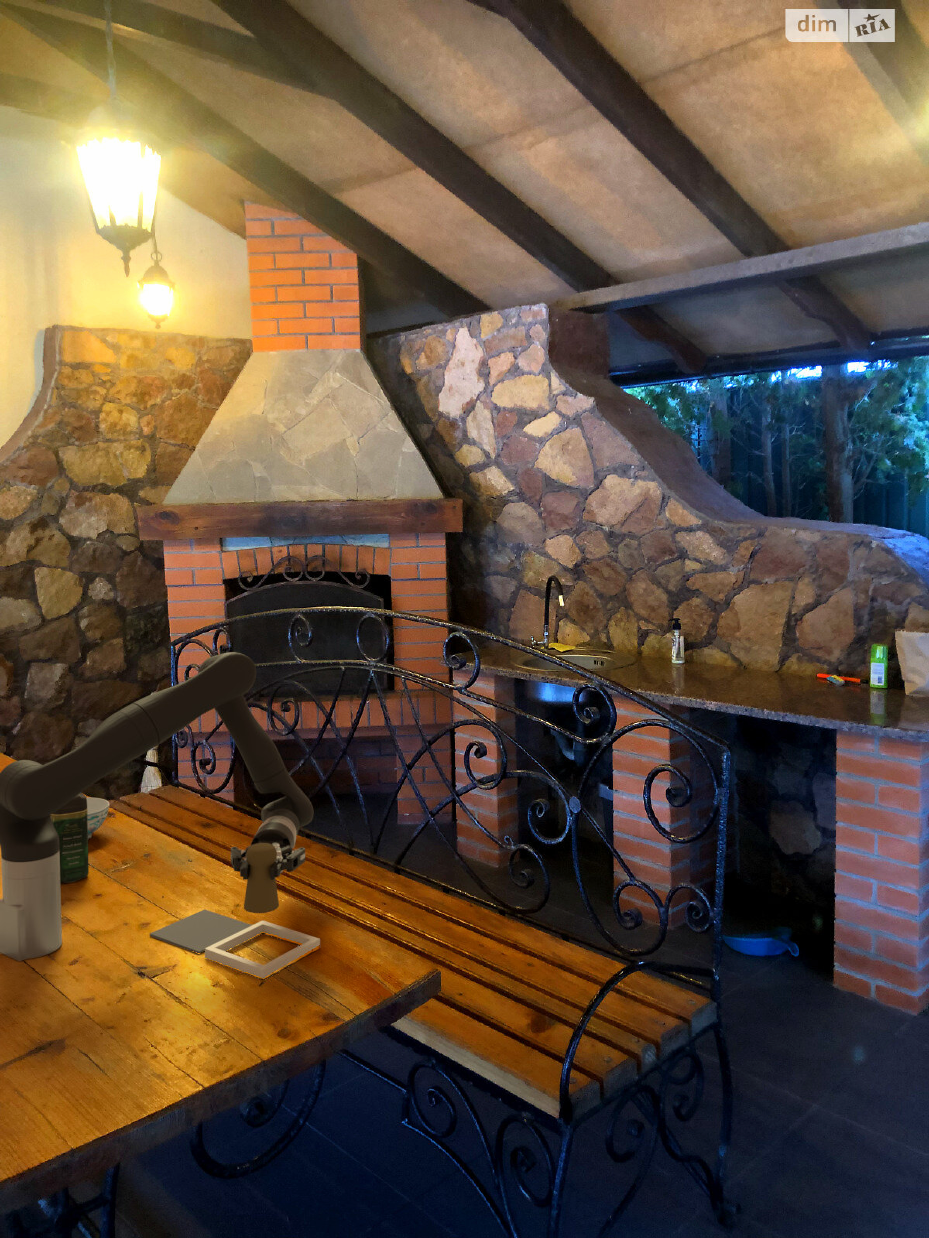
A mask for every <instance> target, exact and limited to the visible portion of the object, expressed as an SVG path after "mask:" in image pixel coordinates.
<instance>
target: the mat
mask: <svg viewBox="0 0 929 1238" xmlns="http://www.w3.org/2000/svg"><path fill="white" fill-rule="evenodd" d="M252 925H253V924H250V923H246V922H243V921H242V920H238V919H234V918H232V917H229V916H226V915H223V914H219V913H217V912H213V911H212V910H209V909H208V910H207V909H203V910H200V911H199V912H195V913H194V914H191V915H189V916H185V917H184V918H182V919H179V920H177V921H175V922H172V923H171V924H168V925H166V926H164V927H161V928H159V929H157V930H155V931H151V932H150V933H149V937H151V938H153V939H157V940H159V941H162V942H165V943H167V944H170V945H172V944H173V946H175V945H176V946H175V947H177V948H180V947H181V949H183V948H185V949H184V950H186V949H188V950H187V951H189V950H190V951H189V952H191V951H194V952H197V953H201V952H203V951H205V948H207V947H209V946H211V945H213V944H215V943H217V942H219V941H221V940H223V939H225V938H227V937H229V936H231V935H234V934H236V933H238V932H240V931H242V930H244V929H246V928H248V927H250V926H252ZM194 952H193V953H194ZM197 953H196V954H197ZM203 953H204V952H203ZM201 954H202V953H201Z"/></svg>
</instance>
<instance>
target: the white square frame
mask: <svg viewBox="0 0 929 1238" xmlns="http://www.w3.org/2000/svg"><path fill="white" fill-rule="evenodd" d="M251 925H252V926H250V927H248V928H246V929H244V930H242V931H240V932H238V933H236V934H234V935H231V936H229V937H227V938H225V939H223V940H221V941H219V942H217V943H215V944H213V945H211V946H209V947H207V948H205V952H204V959H205V958H208V959H210V960H213V961H217V962H219V963H222V964H223V965H222V966H224V965H228V966H230V967H232V968H236V969H239V970H241V971H243V972H248V973H250V974H253V975H256V976H259V977H261V978H265V977H266V976H268V975H270V974H271V973H272V972H274V971H276V970H278V969H279V968H281V967H283V966H284V965H287V964H288V963H289V962H291V961H293V960H295V959H297V958H299V957H300V956H301V955H304V954H305V953H307V952H308V951H311V950H312V949H314V948H316V947H317V946H319V945H320V946H321V938H319V937H315V936H313V935H309V934H306V933H303V932H300V931H296V930H294V929H291V928H287V927H284V926H282V925H278V924H275V923H272V922H268V921H266V920H260V921H259V922H257V923H255V924H251ZM261 932H265V933H268V934H273V935H277V936H279V937H281V938H286V939H289V940H292V941H296V942H299V943H302V945H300V946H299V945H297V946H296V947H295V948H293V949H291V950H289V951H286V952H285V953H283V954H281V955H279V956H278V957H276V958H274V959H273V960H270V961H269V962H267V963H266V964H261V963H259V962H256V961H253V960H250V959H248V958H245V957H243V956H242V957H241V956H239V955H236V954H234V953H230V952H228V951H227V950H229V949H230V948H233V949H234V947H235V946H236V945H238V944H241V943H243V942H244V941H247V940H248V939H250V938H252V937H254V936H256V935H257V934H260V933H261ZM247 942H248V941H247ZM243 944H244V943H243ZM241 945H242V944H241ZM235 948H236V947H235ZM226 951H227V952H226ZM229 951H230V950H229ZM208 959H207V960H208ZM210 960H209V961H210ZM213 961H212V962H213ZM232 968H231V969H232ZM243 972H242V973H243Z"/></svg>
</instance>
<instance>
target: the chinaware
mask: <svg viewBox="0 0 929 1238" xmlns="http://www.w3.org/2000/svg"><path fill="white" fill-rule="evenodd" d="M86 798H87V808H88V810H87V820H88V840H89V838H90V839H91V838H92V834H93V833H95V832H96V831H97V830H98V829H100V827H102V824H103V823H104V822H105V821H106V819H107V816H108V812H109V810H110V809H109V808H110V802H109V801H108V800H106V799H104V798H99V797H87V796H86Z"/></svg>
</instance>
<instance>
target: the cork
mask: <svg viewBox="0 0 929 1238" xmlns="http://www.w3.org/2000/svg"><path fill="white" fill-rule="evenodd" d="M249 846H250V845H249ZM246 858H247V862H248V863H249V864H250V867H249V877H248V879H247V882H246V888H245V895H244V902H243V910H244V911H246V912H248V913H251V914H252V913H253V914H267V913H270V912H274V911H275V910H277V909H278V908H279V906H280V903H279V896H278V894H279V893H278V887H277V880H276V879H277V878H275V880H271V879H270V870H271V866H272V864H273V863H274V862H275V860H276V858H277V851H276V848H275V847H274V846H273V845H272V844H269V843H257V844H254V845H252V846H250V847H249V849H248V850H247V853H246Z"/></svg>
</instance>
